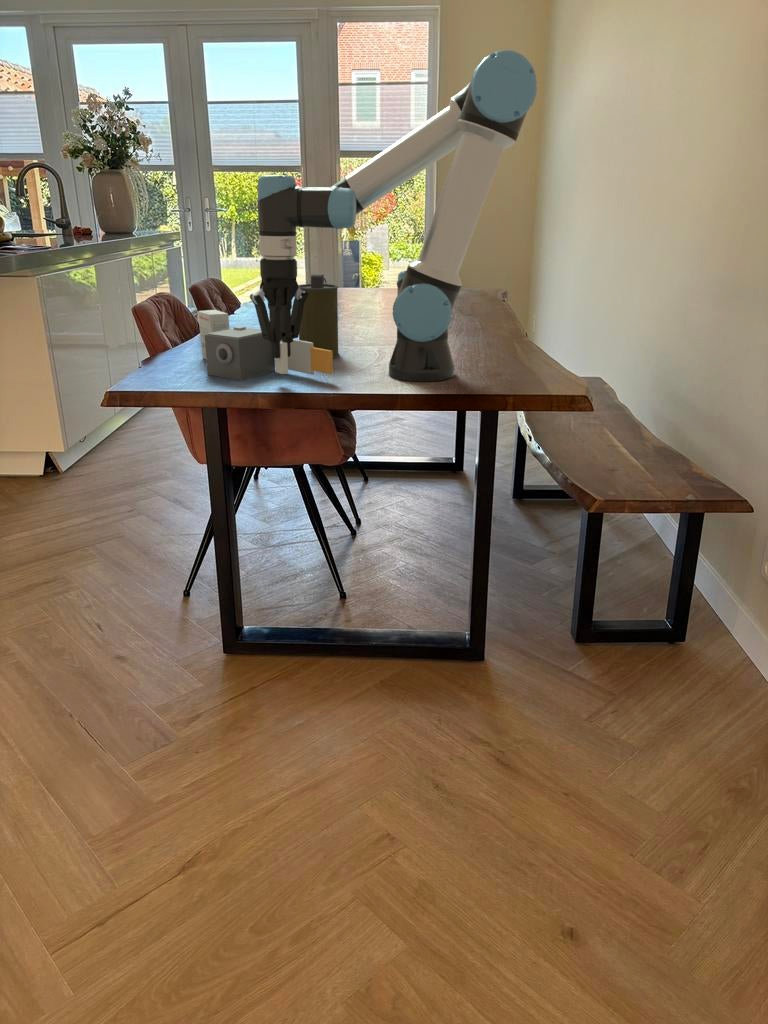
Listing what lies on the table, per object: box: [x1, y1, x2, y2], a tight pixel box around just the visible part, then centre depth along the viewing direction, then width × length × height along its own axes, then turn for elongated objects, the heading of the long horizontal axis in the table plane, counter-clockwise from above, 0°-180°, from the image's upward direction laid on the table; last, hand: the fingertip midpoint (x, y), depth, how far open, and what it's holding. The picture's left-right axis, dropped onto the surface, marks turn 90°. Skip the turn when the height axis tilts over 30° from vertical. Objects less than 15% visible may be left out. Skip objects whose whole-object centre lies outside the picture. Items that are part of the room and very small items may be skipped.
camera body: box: [205, 325, 276, 381], centre depth 175 cm, size 10×13×10 cm
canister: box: [298, 274, 340, 359], centre depth 193 cm, size 11×10×20 cm
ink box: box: [197, 309, 230, 361], centre depth 188 cm, size 9×5×12 cm, turn 33°
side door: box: [281, 338, 334, 376], centre depth 172 cm, size 1×18×7 cm, turn 49°
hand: (281, 372), depth 165 cm, fingers closed
